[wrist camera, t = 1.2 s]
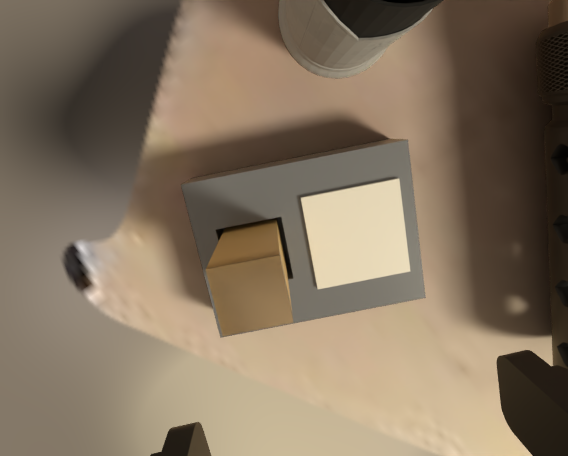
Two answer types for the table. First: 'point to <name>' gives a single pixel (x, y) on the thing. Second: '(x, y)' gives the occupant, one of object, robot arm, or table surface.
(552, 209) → the muzzle brake
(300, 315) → the block
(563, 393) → the robot arm
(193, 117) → the table surface
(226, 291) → the plug
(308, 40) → the white pitcher
